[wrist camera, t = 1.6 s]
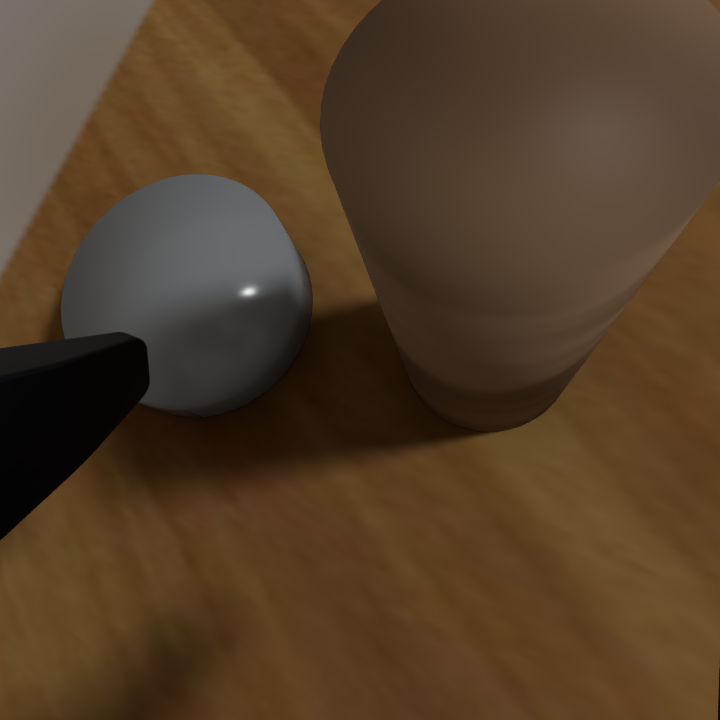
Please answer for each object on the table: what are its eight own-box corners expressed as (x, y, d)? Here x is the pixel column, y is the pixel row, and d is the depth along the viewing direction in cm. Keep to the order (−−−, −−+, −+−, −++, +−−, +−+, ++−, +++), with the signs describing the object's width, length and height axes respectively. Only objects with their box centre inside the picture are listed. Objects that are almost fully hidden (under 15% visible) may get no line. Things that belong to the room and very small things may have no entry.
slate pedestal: (242, 456, 20) (206, 445, 17) (72, 362, 23) (17, 340, 20) (351, 256, 22) (334, 217, 19) (180, 190, 24) (143, 147, 22)
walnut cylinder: (532, 460, 18) (656, 347, 6) (377, 389, 20) (252, 197, 8) (597, 310, 19) (806, -22, 8) (445, 255, 21) (420, -86, 9)
